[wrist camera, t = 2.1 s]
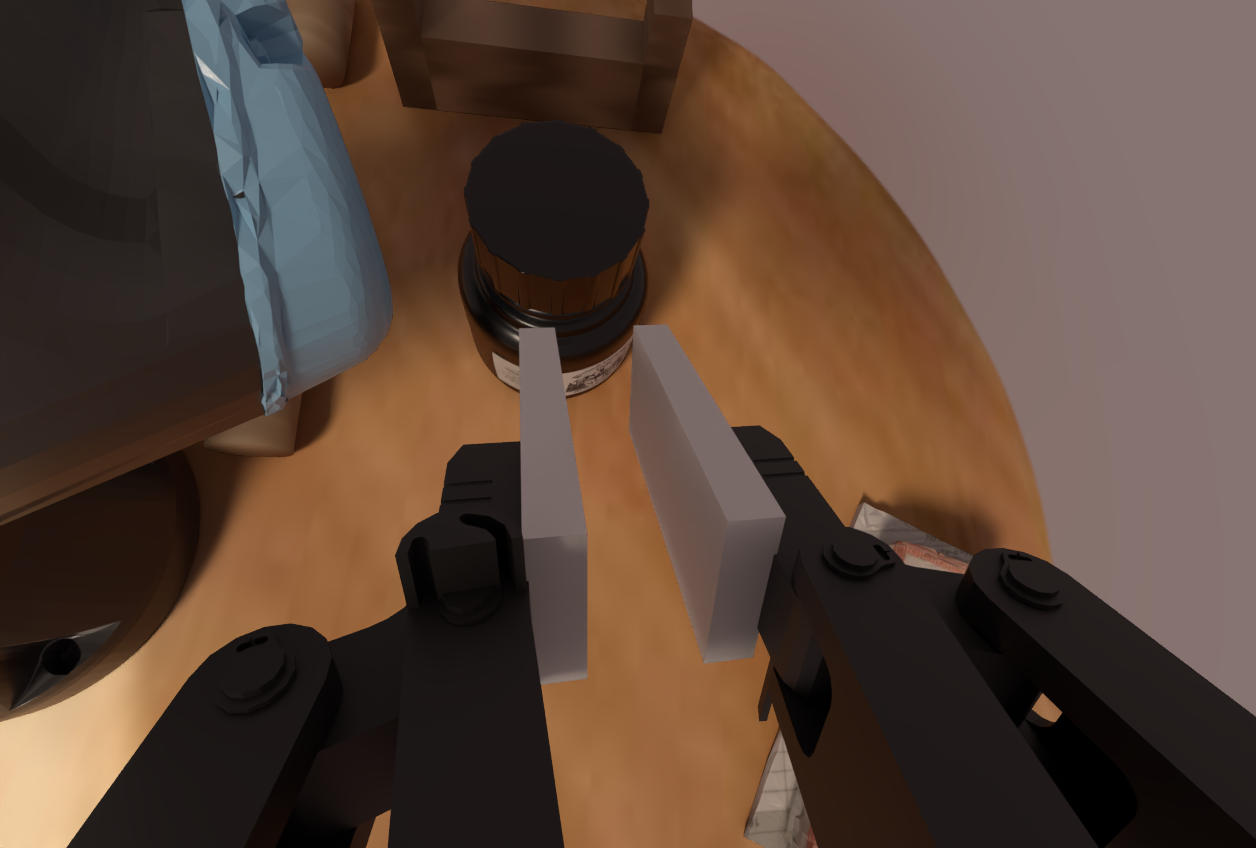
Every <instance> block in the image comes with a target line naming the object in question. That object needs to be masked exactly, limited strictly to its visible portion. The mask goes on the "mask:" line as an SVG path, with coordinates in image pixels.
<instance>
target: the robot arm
mask: <svg viewBox="0 0 1256 848" xmlns="http://www.w3.org/2000/svg"><path fill="white" fill-rule="evenodd" d="M392 317H393V303H392V293H391V287H390V282H389V278H388V274H387V271H386V267H385V263H384V260H383V256H382V252H381V249H380V246H379V243H378V239H377V236H376V233H375V230H374V227H373V224H372V221H371V218H370V215H369V212H368V209H367V206H366V202H365V199H364V196H363V194H362V191H361V188H360V185H359V182H358V179H357V177H356V174H355V171H354V168H353V165H352V162H351V160H350V157H349V154H348V151H347V149H346V146H345V143H344V140H343V138H342V135H341V132H340V130H339V127H338V124H337V122H336V119H335V117H334V114H333V112H332V109H331V106H330V104H329V101H328V99H327V96H326V94H325V91H324V89H323V86H322V84H321V81H320V79H319V76H318V74H317V73H316V71H315V69H314V67H313V66H312V64H311V63H310V61H309V60H308V58H307V57H306V56H305V54H304V53H303V40H302V37H301V35H300V32H299V30H298V28H297V25H296V23H295V21H294V19H293V16H292V14H291V12H290V10H289V7H288V5H287V2H286V0H0V722H2V721H5V720H9V719H12V718H16V717H19V716H23V715H27V714H30V713H33V712H36V711H39V710H42V709H45V708H47V707H50V706H52V705H55V704H57V703H59V702H62V701H64V700H66V699H68V698H70V697H72V696H74V695H76V694H78V693H79V692H81V691H83V690H85V689H87V688H88V687H90V686H92V685H93V684H95V683H96V682H98V681H99V680H101V679H102V678H104V677H105V676H106V675H108V674H109V673H111V672H112V671H113V670H115V669H116V668H117V667H118V666H120V665H121V664H122V663H123V662H124V661H126V660H127V659H128V658H129V657H130V656H131V655H132V654H133V653H134V652H135V651H136V650H137V649H139V647H140V646H141V645H142V644H143V643H144V642H145V641H146V640H147V639H148V638H149V637H150V636H151V634H152V633H153V632H154V631H155V630H156V628H157V627H158V626H159V625H160V623H161V622H162V620H163V619H164V618H165V616H166V615H167V613H168V612H169V610H170V609H171V607H172V606H173V604H174V602H175V600H176V599H177V597H178V595H179V593H180V591H181V589H182V587H183V585H184V583H185V581H186V578H187V576H188V573H189V570H190V568H191V565H192V561H193V558H194V555H195V550H196V546H197V540H198V533H199V519H200V516H199V500H198V493H197V488H196V483H195V480H194V477H193V473H192V471H191V468H190V466H189V463H188V461H187V459H186V457H185V455H184V454H183V452H182V450H181V449H183V448H186V447H188V446H191V445H193V444H195V443H198V442H200V441H202V440H205V439H207V438H210V437H212V436H214V435H217V434H219V433H221V432H224V431H226V430H229V429H231V428H233V427H236V426H238V425H240V424H243V423H245V422H247V421H250V420H252V419H255V418H257V417H259V416H262V415H264V416H265V415H266V416H269V415H272V414H274V413H276V412H277V411H280V410H282V409H283V408H284V407H285V406H286V403H287V401H288V400H289V399H291V398H293V397H295V396H297V395H299V394H301V393H303V392H304V391H306V390H308V389H310V388H312V387H314V386H316V385H318V384H320V383H322V382H324V381H326V380H328V379H330V378H332V377H334V376H336V375H338V374H340V373H342V372H344V371H346V370H348V369H350V368H352V367H354V366H356V365H358V364H360V363H362V362H363V361H365V360H366V359H368V357H369V356H370V355H371V354H372V353H374V352H375V351H376V350H377V347H378V346H379V344H380V343H381V342H382V341H383V340H384V339H385V337H386V335H387V333H388V331H389V329H390V324H391V321H392ZM519 370H520V441H519V442H502V443H485V444H468V445H463V446H462V447H461V448H460V449H459V450H458V451H457V453H456V454H455V455H454V456H453V457H452V458H451V460H450V461H449V462H448V463H447V469H446V475H445V480H444V488H443V491H442V497H441V505H440V508H439V513H436V514H434V515H432V516H431V517H429V518H427V519H425V520H423V521H421V522H419V523H417V524H416V525H415V526H414V527H413V528H412V529H411V530H410V531H409V532H408V533H407V534H406V535H405V536H404V537H403V538H402V540H401V542H400V545H399V547H398V549H397V552H396V554H395V557H396V562H397V566H398V570H399V574H400V579H401V583H402V587H403V591H404V595H405V600H406V604H407V605H406V606H405V607H404V608H403V609H401V610H400V611H398V612H397V613H395V614H394V615H392V616H391V617H389V618H388V619H386V620H384V621H382V622H379V623H377V624H375V625H373V626H371V627H368V628H365V629H363V630H360V631H357V632H354V633H351V634H349V635H346V636H343V637H340V638H338V639H335V640H332V641H329V642H328V641H327V639H326V638H325V637H324V636H322V635H321V634H320V633H319V632H317V631H316V630H315V629H314V628H312V627H307V626H301V625H296V624H283V625H276V626H269V627H263V628H261V629H258V630H256V631H253V632H251V633H248V634H245V635H243V636H240V637H238V638H236V639H234V640H233V641H231V642H230V643H228V644H227V645H225V646H224V647H222V648H221V649H219V650H218V651H216V652H214V653H213V654H211V655H210V656H209V657H208V658H207V659H206V660H205V661H204V662H203V663H202V664H201V665H200V666H199V668H198V669H197V670H196V671H195V672H194V673H193V674H192V675H191V676H190V677H189V678H188V680H187V681H186V682H185V684H184V685H183V686H182V688H181V689H180V691H179V692H178V693H177V695H176V696H175V698H174V699H173V700H172V702H171V703H170V705H169V706H168V707H167V709H166V710H165V711H164V713H163V714H162V716H161V717H160V718H159V720H158V721H157V723H156V724H155V725H154V727H153V728H152V730H151V731H150V732H149V734H148V735H147V736H146V738H145V739H144V741H143V742H142V743H141V745H140V746H139V748H138V749H137V750H136V752H135V753H134V755H133V756H132V757H131V759H130V760H129V762H128V763H127V764H126V766H125V767H124V768H123V770H122V771H121V773H120V774H119V775H118V777H117V778H116V780H115V781H114V782H113V784H112V785H111V787H110V788H109V789H108V791H107V792H106V793H105V795H104V796H103V798H102V799H101V800H100V802H99V803H98V805H97V806H96V807H95V809H94V810H93V812H92V813H91V814H90V816H89V817H88V818H87V820H86V821H85V823H84V824H83V825H82V827H81V828H80V830H79V831H78V832H77V834H76V835H75V837H74V838H73V839H72V841H71V842H70V843H69V845H68V846H67V848H366V845H367V842H368V839H369V836H370V833H371V830H372V827H373V824H374V821H375V818H376V816H378V815H380V814H382V813H384V812H386V811H388V810H390V809H391V816H390V827H389V839H388V848H564V842H563V835H562V828H561V821H560V814H559V807H558V800H557V793H556V787H555V780H554V773H553V766H552V759H551V752H550V745H549V738H548V731H547V724H546V717H545V710H544V703H543V696H542V689H541V684H549V683H557V682H565V681H572V680H580V679H587V529H586V522H585V516H584V510H583V504H582V497H581V491H580V485H579V478H578V472H577V466H576V459H575V453H574V447H573V440H572V434H571V428H570V421H569V415H568V409H567V402H566V396H565V390H564V383H563V377H562V371H561V364H560V358H559V352H558V345H557V339H556V333H555V328H519ZM629 433H630V436H631V439H632V442H633V445H634V448H635V451H636V454H637V457H638V460H639V463H640V467H641V470H642V473H643V476H644V479H645V482H646V485H647V488H648V491H649V494H650V498H651V501H652V504H653V507H654V510H655V513H656V516H657V519H658V522H659V525H660V529H661V532H662V535H663V538H664V541H665V544H666V547H667V550H668V553H669V556H670V559H671V563H672V566H673V569H674V572H675V575H676V578H677V581H678V584H679V587H680V590H681V594H682V597H683V600H684V603H685V606H686V609H687V612H688V615H689V618H690V621H691V624H692V628H693V631H694V634H695V637H696V640H697V643H698V646H699V649H700V652H701V655H702V659H703V662H704V664H705V663H713V662H720V661H728V660H736V659H744V658H752V657H753V655H754V651H755V646H756V642H757V638H758V633H760V635H761V637H762V639H763V642H764V644H765V646H766V648H767V651H768V653H769V655H770V662H769V665H768V669H767V673H766V677H765V681H764V685H763V688H762V692H761V696H760V700H759V704H758V713H759V721H767V718H768V714H769V711H770V707H771V703H772V704H773V707H774V711H775V714H776V717H777V720H778V723H779V726H780V730H781V733H782V736H783V739H784V742H785V745H786V748H787V752H788V755H789V758H790V761H791V764H792V767H793V771H794V774H795V777H796V780H797V783H798V786H799V790H800V793H801V796H802V799H803V802H804V805H805V809H806V812H807V815H808V818H809V821H810V824H811V828H812V831H813V834H814V837H815V840H816V843H817V846H818V848H1256V717H1255V716H1254V715H1253V714H1251V713H1250V712H1249V711H1247V710H1246V709H1245V708H1243V707H1242V706H1241V705H1239V704H1238V703H1237V702H1236V701H1234V700H1233V699H1231V698H1230V697H1229V696H1228V695H1226V694H1225V693H1224V692H1222V691H1221V690H1220V689H1218V688H1217V687H1216V686H1214V685H1213V684H1212V683H1210V682H1209V681H1208V680H1207V679H1205V678H1204V677H1202V676H1201V675H1200V674H1199V673H1197V672H1196V671H1194V670H1193V669H1192V668H1191V667H1189V666H1188V665H1187V664H1185V663H1184V662H1183V661H1181V660H1180V659H1179V658H1177V657H1176V656H1175V655H1174V654H1172V653H1171V652H1169V651H1168V650H1167V649H1165V648H1164V647H1163V646H1162V645H1160V644H1159V643H1158V642H1156V641H1155V640H1154V639H1152V638H1151V637H1150V636H1148V635H1147V634H1146V633H1145V632H1143V631H1142V630H1141V629H1139V628H1138V627H1137V626H1135V625H1134V624H1133V623H1131V622H1130V621H1129V620H1127V619H1126V618H1125V617H1123V616H1122V615H1121V614H1119V613H1118V612H1117V611H1115V610H1114V609H1113V608H1111V607H1110V606H1109V605H1108V604H1106V603H1105V602H1104V601H1102V600H1101V599H1099V598H1098V597H1097V596H1095V595H1094V594H1093V593H1092V592H1090V591H1089V590H1088V589H1086V588H1085V587H1084V586H1082V585H1081V584H1080V583H1079V582H1077V581H1076V580H1074V579H1073V578H1072V577H1071V576H1069V575H1068V574H1066V573H1065V572H1063V571H1061V570H1060V569H1058V568H1057V567H1055V566H1053V565H1052V564H1050V563H1049V562H1047V561H1045V560H1042V559H1040V558H1037V557H1035V556H1032V555H1030V554H1027V553H1025V552H1020V551H1015V550H1010V549H1005V548H996V549H984V550H982V551H981V552H979V553H977V554H975V555H973V557H972V559H971V561H970V563H969V565H968V567H967V569H966V571H965V574H960V573H954V572H947V571H941V570H934V569H927V568H921V567H914V566H910V565H906V564H905V563H904V562H903V560H902V559H901V558H900V557H899V556H898V555H897V554H896V553H895V551H894V550H893V549H892V548H891V547H890V546H889V545H888V544H886V543H884V542H883V541H881V540H879V539H878V538H876V537H875V536H873V535H871V534H869V533H866V532H863V531H860V530H857V529H854V528H851V527H845V526H844V525H843V523H842V522H841V521H840V519H839V518H838V517H837V515H836V514H835V512H834V511H833V510H832V508H831V507H830V506H829V504H828V503H827V502H826V500H825V499H824V498H823V496H822V495H821V493H820V492H819V491H818V489H817V488H816V487H815V485H814V484H813V483H812V481H811V480H810V479H809V477H808V476H805V474H804V470H803V469H802V468H801V466H800V465H799V464H798V462H797V461H794V457H793V455H792V454H791V453H790V451H789V450H788V449H787V447H786V446H785V445H784V443H783V442H782V441H781V440H780V439H779V438H777V437H776V436H774V435H773V434H771V433H770V432H768V431H767V430H765V429H764V428H762V427H761V426H742V427H730V425H729V424H728V422H727V420H726V419H725V417H724V416H723V414H722V412H721V411H720V409H719V408H718V406H717V404H716V403H715V401H714V399H713V398H712V396H711V395H710V393H709V391H708V390H707V388H706V387H705V385H704V383H703V382H702V380H701V378H700V377H699V375H698V374H697V372H696V370H695V369H694V367H693V366H692V364H691V362H690V361H689V359H688V357H687V356H686V354H685V353H684V351H683V349H682V348H681V346H680V345H679V343H678V341H677V340H676V338H675V336H674V335H673V333H672V332H671V330H670V328H669V327H668V325H634V328H633V351H632V373H631V395H630V417H629ZM1042 693H1043V694H1044V695H1045V696H1046V697H1047V698H1048V699H1049V700H1050V701H1051V702H1053V703H1054V704H1055V705H1056V706H1057V707H1058V708H1059V709H1060V710H1061V711H1062V712H1063V713H1062V714H1061V715H1060V717H1059V718H1058V720H1057V721H1056V722H1051V721H1049V720H1046V719H1044V718H1042V717H1041V716H1039V715H1038V714H1037V713H1036V712H1035V711H1033V710H1032V708H1033V706H1034V705H1035V703H1036V702H1037V700H1038V699H1039V697H1040V696H1041V694H1042Z"/></svg>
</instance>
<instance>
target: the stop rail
mask: <svg viewBox="0 0 1256 848" xmlns="http://www.w3.org/2000/svg"><path fill="white" fill-rule="evenodd" d="M371 1H372V4H373V7H374V11H375V14H376V17H377V21H378V24H379V27H380V31H381V34H382V37H383V40H384V44H385V47H386V50H387V54H388V57H389V60H390V64H391V67H392V70H393V74H394V77H395V80H396V84H397V87H398V90H399V93H400V97H401V100H402V103H403V106H404V107H414V108H423V109H433V110H442V111H452V112H461V113H471V114H480V115H490V116H499V117H509V118H519V119H528V120H538V121H553V120H562V121H564V122H567V123H571V124H576V125H585V126H595V127H604V128H614V129H624V130H633V131H643V132H652V133H662V129H663V125H664V122H665V118H666V114H667V111H668V107H669V103H670V100H671V96H672V92H673V89H674V85H675V81H676V78H677V74H678V70H679V67H680V63H681V59H682V56H683V52H684V48H685V45H686V41H687V37H688V34H689V30H690V27H691V23H692V19H693V16H692V0H647V5H646V10H645V16H644V21H637V20H630V19H622V18H615V17H607V16H600V15H592V14H585V13H577V12H570V11H562V10H555V9H547V8H540V7H532V6H525V5H517V4H510V3H502V2H494V1H487V0H371Z"/></svg>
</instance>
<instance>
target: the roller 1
mask: <svg viewBox="0 0 1256 848" xmlns="http://www.w3.org/2000/svg"><path fill="white" fill-rule="evenodd" d="M301 397H302V393H301V394H299V395H297V396H295V397H293V398H291V399H289V400H288V401H287V403H286V406H285V407H284V408H283V409H282V410H280V411H277V412H276V413H274V414H272V415H269V416H266V415H265V416H264V415H262V416H259V417H257V418H255V419H252V420H250V421H247V422H245V423H243V424H240V425H238V426H236V427H233V428H231V429H229V430H226V431H224V432H221V433H219V434H217V435H214V436H212V437H210V438H207V439H205V440H204V443H203V447H205V448H206V449H209V450H212V451H216V452H221V453H227V454H233V455H242V456H253V457H286V456H291V455H293V454H294V447H295V440H296V433H297V425H298V418H299V411H300V404H301Z"/></svg>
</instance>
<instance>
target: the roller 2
mask: <svg viewBox="0 0 1256 848" xmlns="http://www.w3.org/2000/svg"><path fill="white" fill-rule="evenodd" d="M286 2H287V5H288V7H289V10H290V12H291V14H292V16H293V19H294V21H295V23H296V25H297V28H298V30H299V32H300V35H301V37H302V40H303V53H304V54H305V56H306V57H307V58H308V60H309V61H310V63H311V64H312V66H313V67H314V69H315V71H316V73H317V74H318V76H319V79H320V81H321V84H322V86H323V88H336V87H338V86H340V85H341V84H342V83H343V82H344V80H345V75H346V68H347V61H348V54H349V47H350V40H351V33H352V26H353V19H354V12H355V5H356V0H286Z"/></svg>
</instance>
